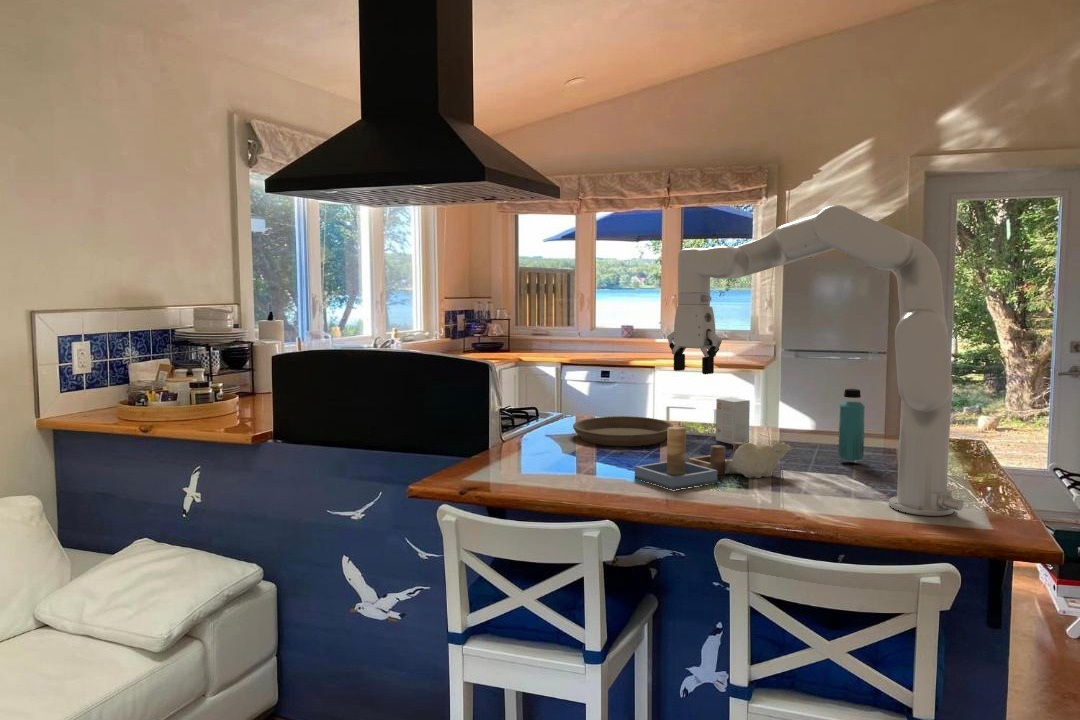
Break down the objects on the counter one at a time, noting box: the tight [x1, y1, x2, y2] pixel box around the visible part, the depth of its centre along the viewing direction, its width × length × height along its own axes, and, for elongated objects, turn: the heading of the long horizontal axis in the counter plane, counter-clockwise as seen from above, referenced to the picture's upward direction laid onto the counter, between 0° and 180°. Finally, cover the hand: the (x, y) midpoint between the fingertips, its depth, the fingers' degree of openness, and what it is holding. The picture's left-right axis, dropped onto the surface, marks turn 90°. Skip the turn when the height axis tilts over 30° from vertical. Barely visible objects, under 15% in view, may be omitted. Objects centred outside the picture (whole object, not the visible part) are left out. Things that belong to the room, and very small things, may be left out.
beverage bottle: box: [837, 388, 865, 461], centre depth 214 cm, size 6×7×20 cm
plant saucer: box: [572, 415, 674, 447], centre depth 251 cm, size 31×31×5 cm
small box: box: [715, 397, 751, 445], centre depth 244 cm, size 8×6×13 cm
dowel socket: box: [688, 454, 728, 468], centre depth 210 cm, size 8×8×2 cm
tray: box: [634, 461, 718, 490], centre depth 195 cm, size 14×14×3 cm
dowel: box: [666, 426, 687, 476], centre depth 194 cm, size 4×4×12 cm
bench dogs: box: [709, 442, 745, 476], centre depth 204 cm, size 4×12×7 cm, turn 122°
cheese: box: [725, 440, 792, 479], centre depth 200 cm, size 15×7×15 cm
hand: (693, 372), depth 193 cm, fingers open, 9 cm apart
